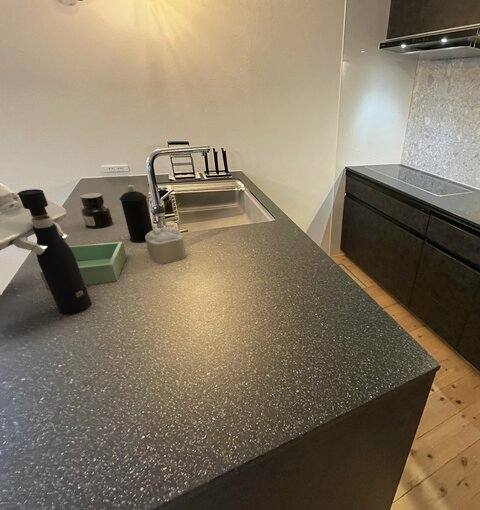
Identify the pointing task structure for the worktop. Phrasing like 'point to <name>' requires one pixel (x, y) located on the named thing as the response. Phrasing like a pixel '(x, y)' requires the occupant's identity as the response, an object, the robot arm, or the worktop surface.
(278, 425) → the worktop surface
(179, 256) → the lumpy-topped squat cylinder
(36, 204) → the black water bottle
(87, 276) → the green square tray
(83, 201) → the ink bottle
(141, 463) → the worktop surface
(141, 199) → the aerosol can
